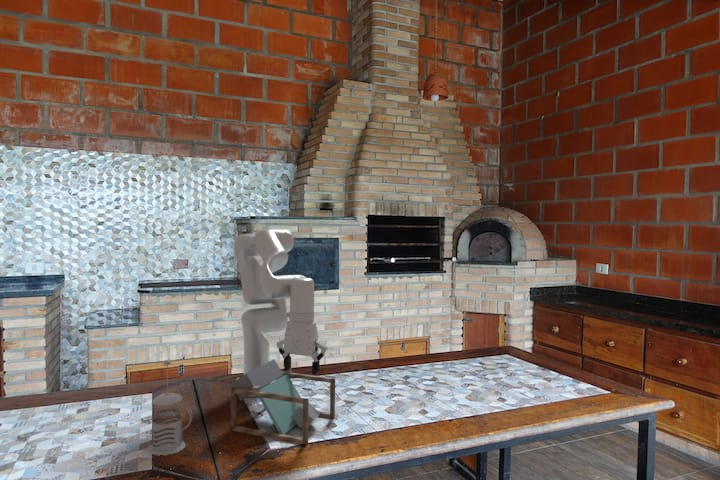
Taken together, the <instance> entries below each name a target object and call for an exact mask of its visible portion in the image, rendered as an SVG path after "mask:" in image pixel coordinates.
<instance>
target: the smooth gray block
mask: <svg viewBox="0 0 720 480" xmlns="http://www.w3.org/2000/svg"><path fill="white" fill-rule="evenodd" d="M318 411H319V410H318V409H316V408H315V407H314V406H313V405H312V404H311V403H310V402H309V401H308V429H309V428H310V427H311V426H312V425H313V424H314V423H315V421H316V420H317V419H318V417H320V416H319V415H320V413H319V412H318ZM291 418H292V419H293V420H294V421H295V422H296V423H297V424H296V425H298V426H299V427H300V428H301V430H303V404H301V405H300V406H299V407H298V409H297V410H296V411H295V413H294V414H293V415H292V417H291Z"/></svg>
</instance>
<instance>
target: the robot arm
mask: <svg viewBox="0 0 720 480" xmlns="http://www.w3.org/2000/svg"><path fill="white" fill-rule="evenodd" d="M294 238H295V237H294V236H293V233H292V232H291V231H290V230H288V229H285V228H263V229H260V230H259V231H257V232H256V233H245V234H244V233H243V234H241V235H238V236H237V237H236V238H235V240H234V244H233V250H234V253H233V254H234V257H235V260H236V262H237V266H238V268H239V272H240V281H241V289H242V290H241V291H242V292H241V293H242V298H243V300H244V303H245V304H246V305H249V306H261V305H270V306H271V307H270V306H268V307H258V308H250V309H247V310H246V311H244V313H242V315H241V321H240V322H241V328H242V334H243V336H242V337H243V375H244V374H246V373H248V372H250V371H252V370H254V369H256V368H258V367H260V366H261V365H263V364H265V363H267V362H269V361H270V343H269V340H267V338H265V336H264V334H269V333H275V332H281V331H284V339H282V340H280V341H277V342H276V347H277V349H278V352H279V354H280V355H281V358H283V368H284V372H285V371H287V370H289V369H291V368H292V356H291V355H297V356H305V357H309V356H310V357H311V358H312V360H313V361H312V362H311V363H312V364H311V374H312V375H313V376H316V374H317V373H319V372H320V361H321V360H322V358H324V357H325V355H326V353H327V351H328V348H329V347H327V346H326V345H324V344H323V343H322V342H320V341H319V334H318V327H317V321H315V281H314V279H313V278H311V277H306V276H305V275H302V274H284V275H273V274H274V273H275V272H277V271H279V270H281V269H283V268H284V267H285V266H286V265H287V262H288V261H289V255H288V253H289V252H290V251H292V250H293V248H294V245H295V239H294ZM256 256H257V257H260V259H261V260H262V262H263V263H262V264H261V263H260V262H259V261H258V260H257V258H255V257H256ZM286 299H289V312H288V310H287V309H288V307H287V301H286ZM288 318H289V319H288ZM319 349H320V350H321V351H320V352H318V351H319ZM239 378H240V377H237V378H236V380H237V379H239ZM236 380H235V381H236ZM263 388H264V387H263ZM261 389H262V388H261ZM249 397H251V398H253V397H254V398H256V396H248V397H247V398H249Z"/></svg>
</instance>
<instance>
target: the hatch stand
mask: <svg viewBox="0 0 720 480" xmlns="http://www.w3.org/2000/svg"><path fill="white" fill-rule="evenodd" d="M281 371H282V370H281ZM292 371H293V370H292V367H291V369H289V370H287V371H285V370H284V371H282V373H283V375H282V376H284V375H286V374H287V375H288V376H289V378H293V379H300V380H307V381H308V380H309V381H317V382H323V383H329V385H330V387H329V388H330V389H329V393H330V394H329V400H330V401H329V412H325V411H319V410H317V411H318V412H319V413H320V415H319V416H318V417H321V418H328V419H335V418H336V413H335V412H336V377H335V378H333V377H326V376H319V375H313V374H312V375H311V374H305V373H304V374H303V373H297V372H296V373H295V372H292ZM282 376H281V377H282ZM268 385H269V384H268ZM266 386H267V385H266ZM237 394H243V395H249V396H256V397H257V398H259V397H262V398H269V399H275V400H281V401H288V402H294V403H301V404H303V429H302V437H301V436H295V435H294V436H293V435H288V434H280V433H279V432H278V433H277V432H271V431H267V430H261V429H257V428H256V429H255V428H250V427H245V426H240V425H238V424H237V423H238V422H237V418H238V417H237V416H238V415H237V410H238V408H237V407H238V406H237V404H238V403H237V402H238V401H237V398H238V396H237ZM256 397H255V398H256ZM308 402H309V398H305V397H301V398H299V397H293V396H286V395H279V394H273V393H266V392H260V386H254V387H253V390H246V389H240V388H233V387H232V388H231V389H230V431H231V430H232V431H231V432H236V431H237V433H242V434H248V435H253V436H259V437H262V438H269V439H273V440H278V441H279V440H280V441H284V442H290V443H295V444H301V445H305V446H306V445H308V444H309V428H308Z"/></svg>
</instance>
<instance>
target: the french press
mask: <svg viewBox="0 0 720 480" xmlns="http://www.w3.org/2000/svg"><path fill="white" fill-rule="evenodd" d="M171 363H172V362H171V360H169V359H166V360H164V361H163V365H165V366H166V392H165V393H161V394H159V395H157V396H155V398H152V399H151V400H152V401H151V403H152V405H153V406H156V407H166V409H161V410H158V411H156V412H155V413H154V414H153V418H152V441H151V442H152V445H151V446H150V447H149V448H148V453H149V454H151V455H154V456H160V455H163V456H170V455H174V454H177V453H178V452H181V451H183V450H184V449H185V447H186V442H184V440H183V431H185V430H186V429H187V428H188V427H189V426H190V424H191V422H192V419H193V410H192V408H191V406H189V404H187V403H185V402H182V400H183V396H182V395H180V394H178V393H176V392H175V393H174V392H169V390H168V389H169V388H168V387H169V384H168V382H169V381H168V380H169V371H168V369H169V368H168V367H169V366H168V365H171ZM180 402H182V403H181V404H180V406H179V409H177V408H168V407H169V406H175V405H177V404H179V403H180ZM186 406H187V407H186ZM183 408H185V409H186V410H187V411H188V415H189V421H188V424H186V425H185V426H184V427H183V423H182V422H183V416H182V415H181V412H182V411H181V410H182V409H183ZM176 418H177V419H176ZM166 421H167V422H166ZM164 422H165V423H164ZM180 450H181V451H180ZM173 453H174V454H173ZM169 454H170V455H169Z"/></svg>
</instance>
